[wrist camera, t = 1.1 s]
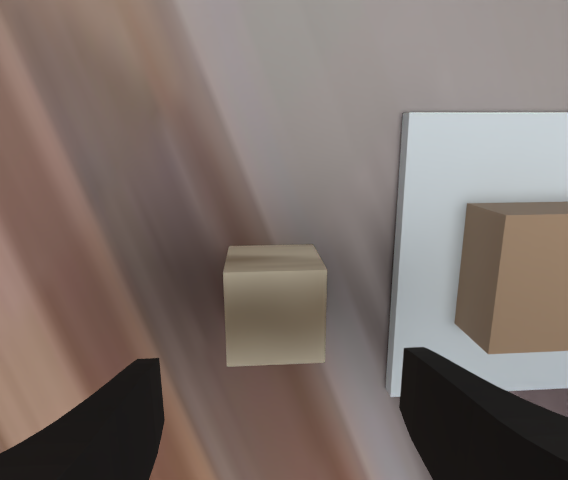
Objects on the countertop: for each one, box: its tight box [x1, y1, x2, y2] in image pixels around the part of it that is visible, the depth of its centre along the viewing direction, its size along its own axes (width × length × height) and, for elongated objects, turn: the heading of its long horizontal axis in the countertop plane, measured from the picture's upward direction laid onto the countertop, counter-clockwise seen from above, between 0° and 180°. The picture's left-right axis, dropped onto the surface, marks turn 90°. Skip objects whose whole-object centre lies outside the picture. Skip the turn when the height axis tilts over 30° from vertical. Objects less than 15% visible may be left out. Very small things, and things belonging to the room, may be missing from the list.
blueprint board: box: [386, 112, 568, 397], centre depth 19 cm, size 14×12×4 cm
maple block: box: [223, 244, 327, 367], centre depth 18 cm, size 4×4×4 cm
